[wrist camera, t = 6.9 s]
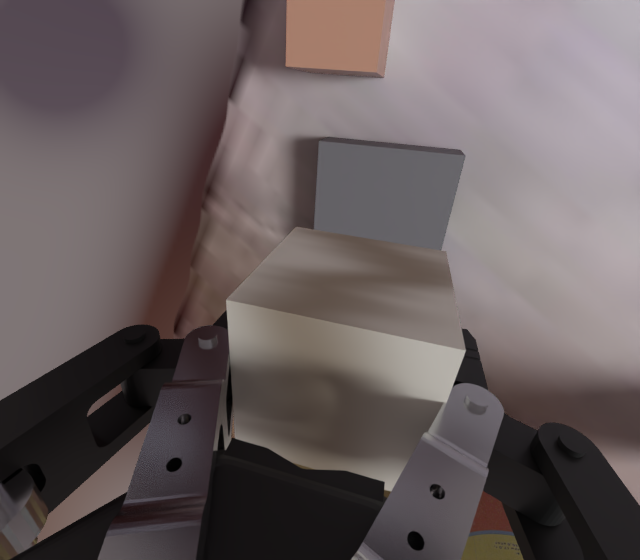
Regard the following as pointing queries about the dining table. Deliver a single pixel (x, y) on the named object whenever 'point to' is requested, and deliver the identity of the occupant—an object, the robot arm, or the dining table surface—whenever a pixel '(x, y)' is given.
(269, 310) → the cream cube
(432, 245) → the plinth
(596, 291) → the dining table surface
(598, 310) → the dining table surface
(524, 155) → the dining table surface
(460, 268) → the dining table surface
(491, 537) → the canned food
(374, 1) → the terracotta cube
